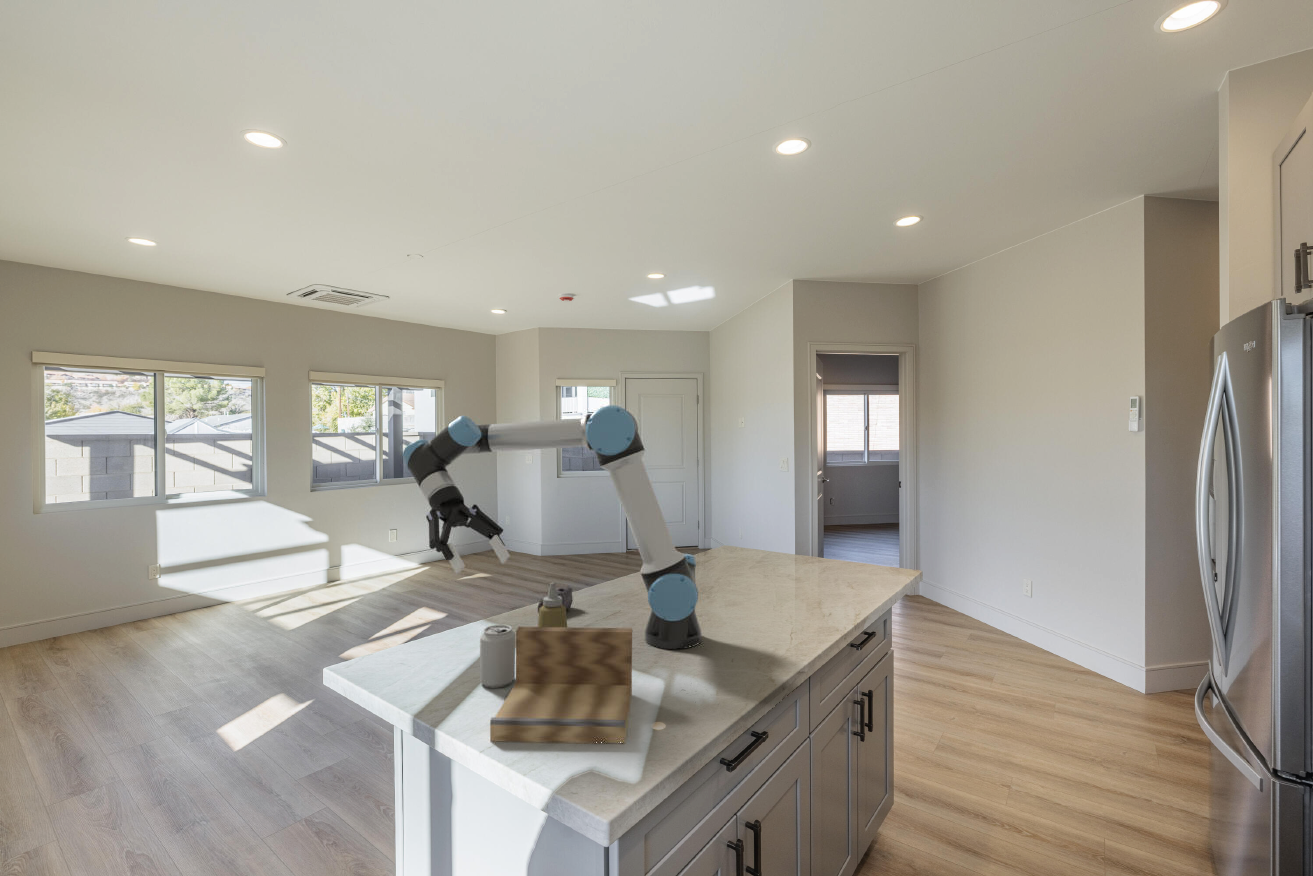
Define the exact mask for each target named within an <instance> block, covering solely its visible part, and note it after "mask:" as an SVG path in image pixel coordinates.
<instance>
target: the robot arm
mask: <svg viewBox="0 0 1313 876" xmlns="http://www.w3.org/2000/svg"><path fill="white" fill-rule="evenodd" d="M581 447H582V448H583V447H585V448H586V449H587V450H589V451H593V450H594V452H595V455H596V458H597V461H598V464H599V466H600V468H601V469H603V470H605V471H608V472H609V476H610V478H611V481H612V483H613V486H614V488H615V492H616V494H617V497H618V499H619V502H620V504H621V507H622V509H623V512H624V515H625V517H626V520H627V523H628V526H629V528H630V531H631V533H632V536H633V538H634V541H635V544H636V546H637V549H638V552H639V554H640V557H641V560H642V562H643V563H642V565H641V569H640V576H641V577H642V581H643V582H644V586H645V588H646V591H647V601H648V605H649V606H650V609H651V611H650V613H649V618H648V621H647V624H646V626H645V630H644V640H645V643H647V644H648V645H650V646H653V647H655V646H656V648H659V647H660V649H667V650H668V649H669V650H678V649H677V648H684V649H686V648H685V647H689V646H693V645H695V644H697V643H699V642H700V641H702V629H701V627H700V623H699V620H698V617H697V613H696V606H697V603H698V601H699V591H698V587H697V583H696V582H697V581H696V566H697V564H696V558H695V556H694V555H693V554H690V553H689V554H688V553H683V552H681V551H678V550H677V549H676V547H675V544H674V541H673V538H672V536H671V533H670V531H669V528H668V526H667V525H668V524H667V523H666V520H665V518H664V515H663V512H662V509H661V507H660V504H659V501H658V498H657V497H656V494H655V491H654V488H653V486H652V482H651V479H650V477H649V475H648V472H647V470H646V468H645V465H644V462H643V457H644V455H645V452H646V449H645V447H644V443H643V441H642V440H641V436H640V434H639V426H638V422H637V420H636V418H635V417H634V415H633V414H632V413H630V412H629V411H628V410H627V409H625V408H623V407H621V406H618V405H607V406H602V407H600V408H598V409H596V410H595V411H594V412H593V413H589V414H585V415H584V417H582V418H570V419H569V418H568V419H567V418H566V419H553V420H551V419H550V420H540V421H539V420H537V421H523V422H522V421H520V422H508V423H507V422H506V423H493V424H491V423H490V424H477V423H475V421H473V420H472V419H471V418H470V417H468V416H466V415H460V416H458V417H457V418H455V420H453V421H451V422H450V423H449V424H448V425H447V426H446V427H445V428H443V429H441V431H440V432H439V433H437V435H435V436H434V437H433V438H432V439H430V440H427V439H417V440H415V441H414V442H410V443H409V444H408V445H406V447H404V450H403V452H402V459H403V460H404V463H405V464H406V467H407V469H408V471H409V472H410V474H411V476H412V477H413V479H414V480H415V482H416V483H417V485H418V487H419V488H420V490H421V492H422V494H423V497H425V500H426V501H428V505H429V506H430V508H431V509H430V511H429V512H428V513H427V514H426V515H425V518H426V520H427V523H428V538H429V539H428V540H429V541H428V546H429V548H430V549H431V550H435V551H436V552H437V553H441V554H442V555H443V557H444V558H445V560H446V561H448V562H449V564H450V565H451V567H452V569H453V570H454V573H455V574H456V575H458V574H460V573H461V572H462V571H463V569H465V567H466V565H465V563H464V561H463V560H462V559H463V558H461V556H460V554H459V553H458V551H457V549H456V547H455V546H454V544H453V542H449V539H450V536H451V532H452V528H453V529H454V528H457V527H466V528H469V529H472V530H473V531H475V532H477V533H479V534H480V535H482V536H483V537H486V538H487V539H488V540H489V541H488V543H489V545H490V547H491V548H492V549H493V551H494V553H495V555H496V556H497V558H498V560H499V562H501V564H505V563H506V561H508V560H509V558H510V557H511V555H510V553H509V551H508V550H507V547H506V545H505V542H503V540H502V538H501V536H500V535H501V534H502V533H504V529H503V528H502V527H501V526H500V525H499V524H497V523H496V522H495V521H494V520H493V519H492V518H490V517H489V516H488V515H487V514H485V513H484V512H483V511H482V510H481V508H480V507H479V506H478V505H477V504H473V505H472V506H470V507H468V506H466V504H465V499H464V496H463V494H462V493H461V491H460V489H459V488H458V487H457V485H456V483H455V481H454V479H453V478H452V476H451V474H450V473H449V471H448V470H447V467H448V466H450V465H451V464H452V463H453V462H454V461H456V460H457V459H458V458H459V457H460V456H462V455H467V454H482V453H484V454H485V453H492V452H493V453H498V452H509V451H511V452H512V451H513V452H515V451H529V450H530V451H531V450H545V449H547V450H548V449H563V448H564V449H566V448H581ZM440 521H442V522H443V523H442V527H441V533H440ZM448 542H449V543H448ZM700 643H701V642H700ZM700 643H699V644H700ZM693 647H694V646H693ZM689 648H690V647H689Z"/></svg>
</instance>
